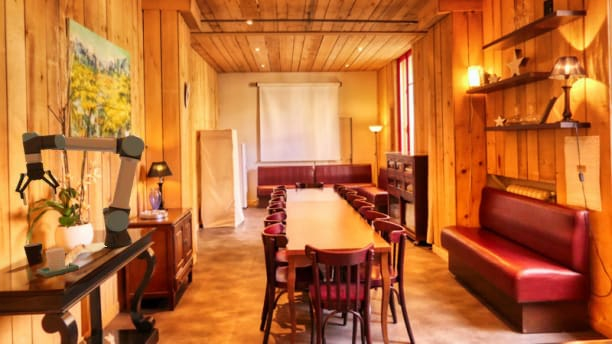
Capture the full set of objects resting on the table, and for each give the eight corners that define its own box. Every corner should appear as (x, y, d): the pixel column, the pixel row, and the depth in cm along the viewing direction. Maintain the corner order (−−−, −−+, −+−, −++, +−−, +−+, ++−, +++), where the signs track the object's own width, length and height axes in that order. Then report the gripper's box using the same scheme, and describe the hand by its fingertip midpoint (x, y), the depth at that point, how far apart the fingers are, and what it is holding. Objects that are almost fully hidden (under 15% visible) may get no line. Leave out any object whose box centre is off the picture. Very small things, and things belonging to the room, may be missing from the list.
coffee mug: (36, 265, 240) (33, 246, 239) (22, 265, 241) (19, 247, 241) (52, 258, 251) (50, 240, 250) (39, 259, 253) (36, 241, 252)
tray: (68, 265, 230) (68, 262, 230) (79, 269, 220) (78, 265, 220) (37, 273, 220) (37, 269, 220) (46, 277, 210) (46, 273, 210)
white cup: (61, 272, 216) (58, 251, 215) (44, 273, 216) (41, 252, 215) (70, 267, 224) (67, 247, 223) (54, 268, 224) (51, 248, 223)
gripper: (57, 160, 250) (63, 198, 252) (4, 165, 233) (10, 206, 234) (62, 159, 245) (68, 199, 247) (8, 164, 227) (14, 207, 229)
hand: (40, 203), depth 240 cm, fingers open, 13 cm apart
